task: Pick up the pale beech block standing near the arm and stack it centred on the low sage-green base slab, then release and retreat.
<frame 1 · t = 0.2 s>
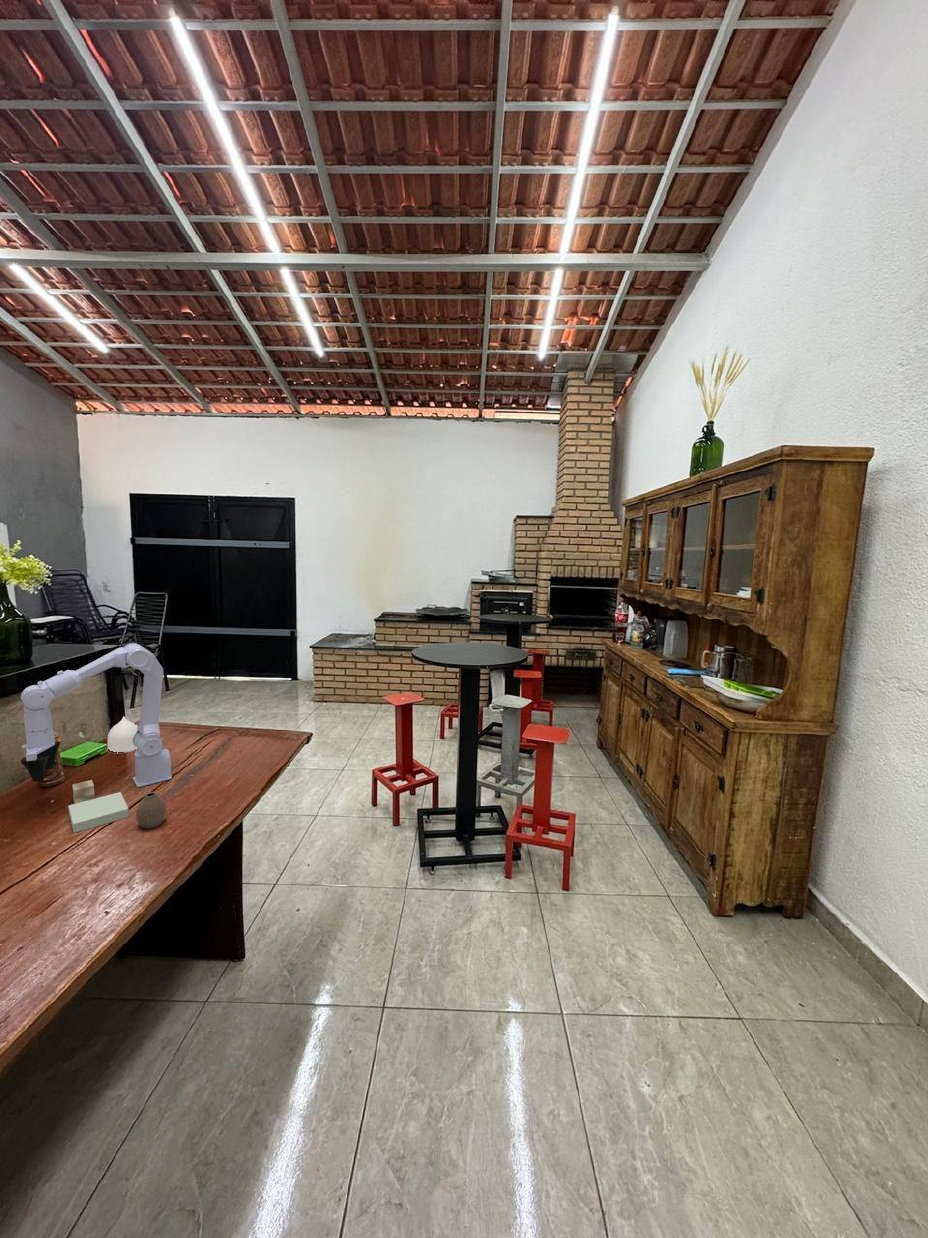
hand: (43, 774, 137), 10 cm above the table, fingers open, 7 cm apart
teardrop: (125, 747, 180), on the table
vase: (152, 825, 132), on the table
beech block: (84, 801, 143), on the table
base slab: (98, 815, 136), on the table
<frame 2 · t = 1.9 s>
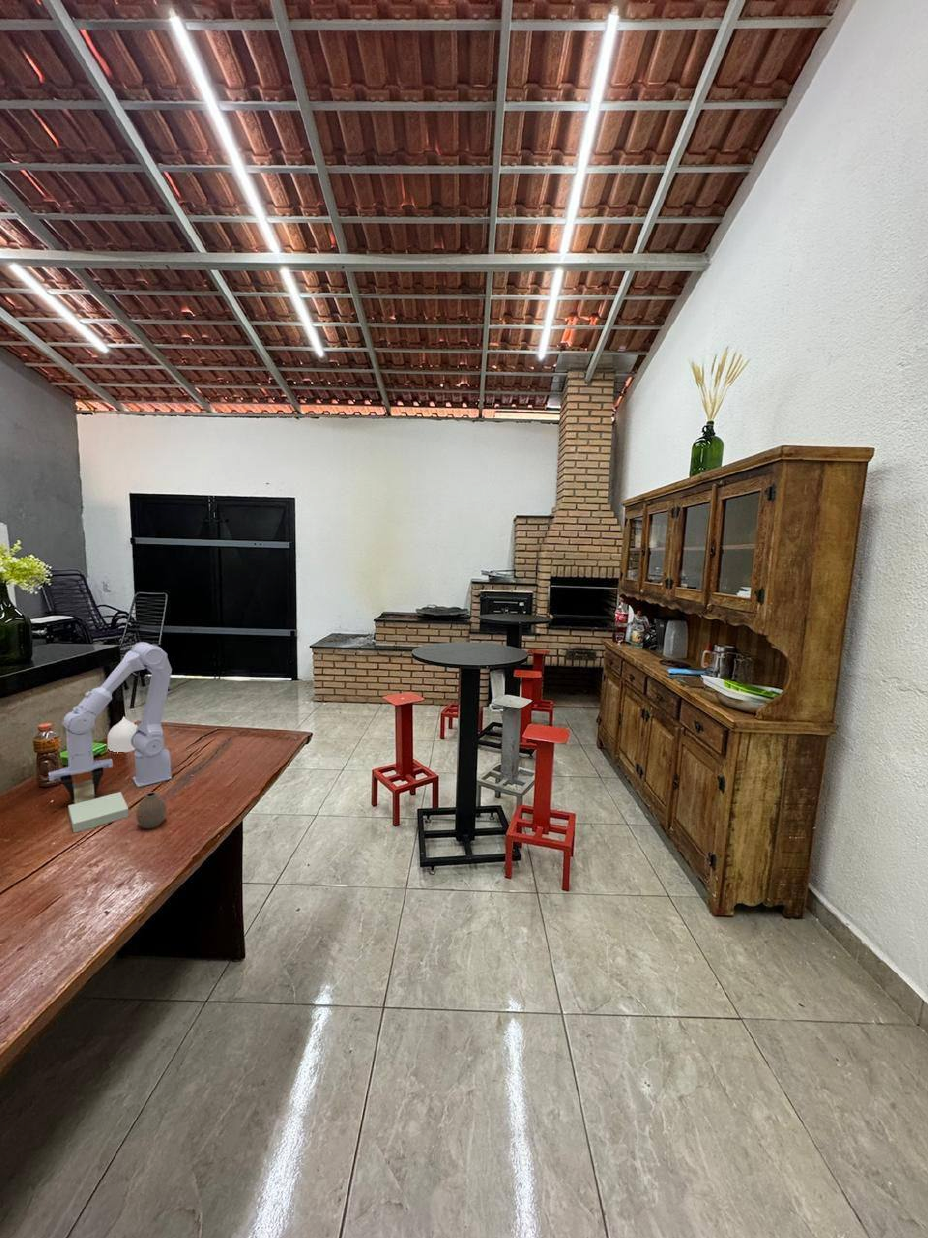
hand: (83, 796, 143), 1 cm above the table, fingers closed on beech block, 4 cm apart
beech block: (84, 800, 143), on the table, touching gripper
everything else where it was.
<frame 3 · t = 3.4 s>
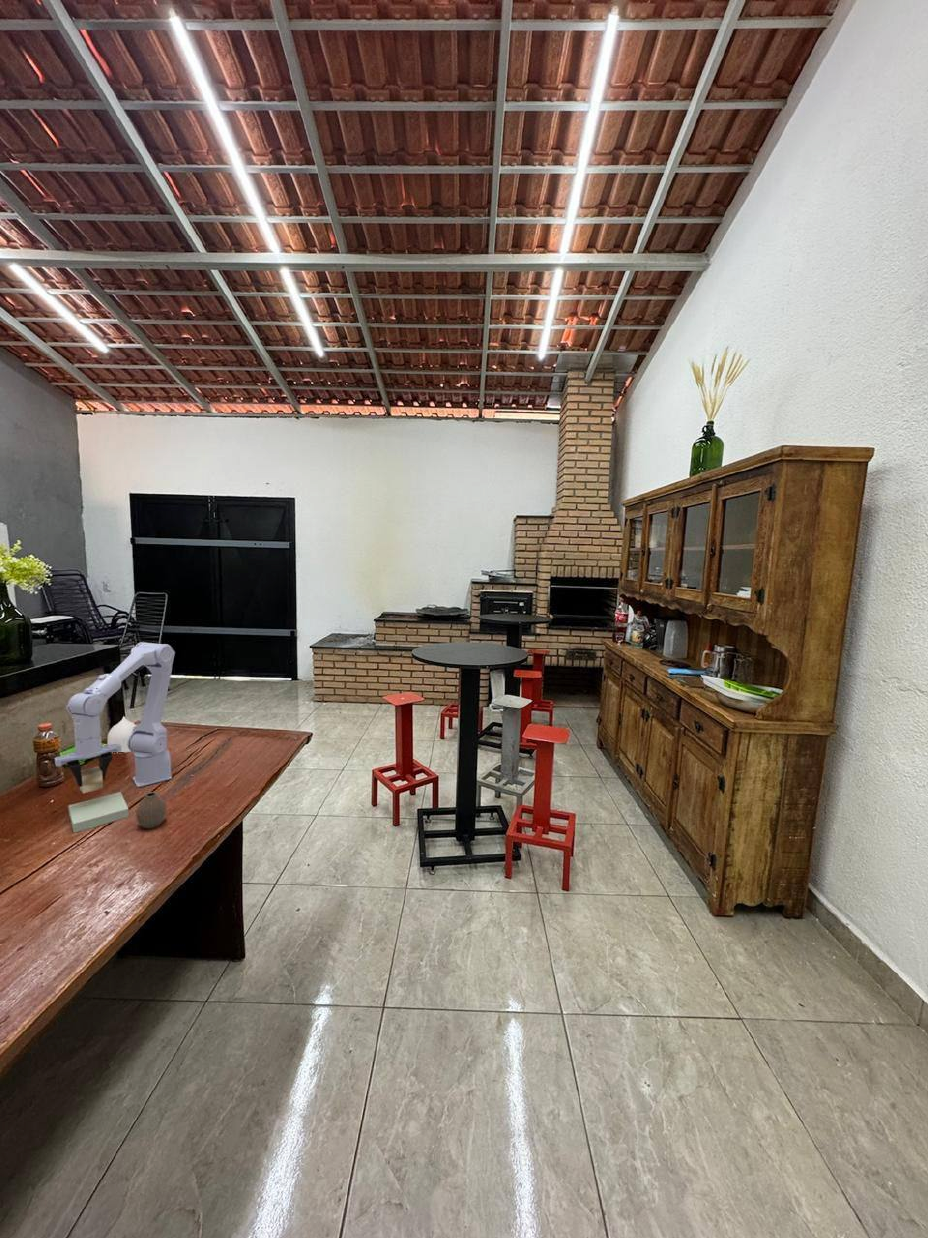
hand: (91, 782, 137), 8 cm above the table, fingers closed on beech block, 4 cm apart
beech block: (91, 788, 137), point 7 cm above the table, touching gripper
everything else where it was.
when the fingers open (5 cm above the table, at t = 4.7 s): beech block stays where it is, resting on base slab.
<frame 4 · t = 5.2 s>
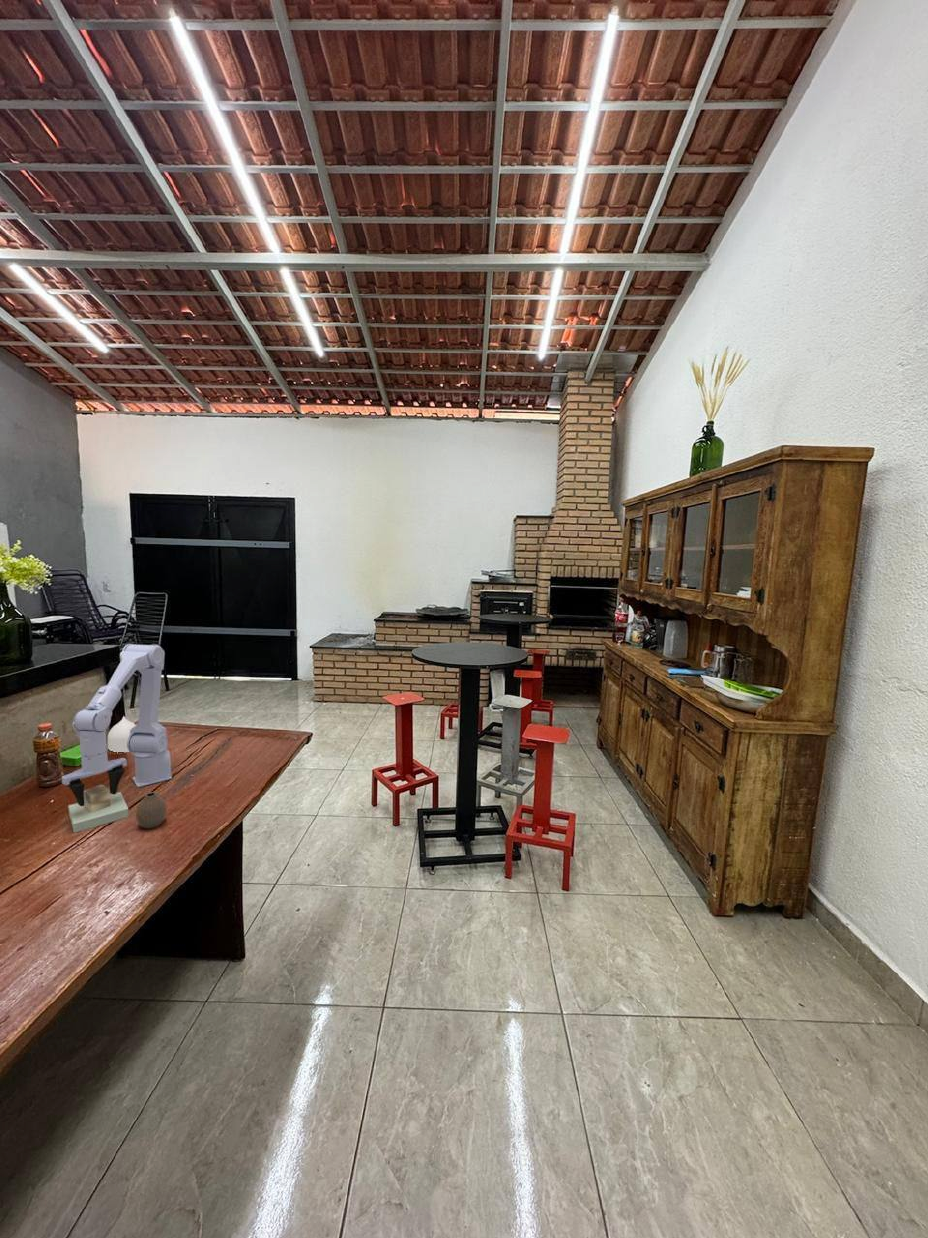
hand: (97, 799, 135), 5 cm above the table, fingers open, 7 cm apart
beech block: (97, 806, 135), point 2 cm above the table, touching base slab
everything else where it was.
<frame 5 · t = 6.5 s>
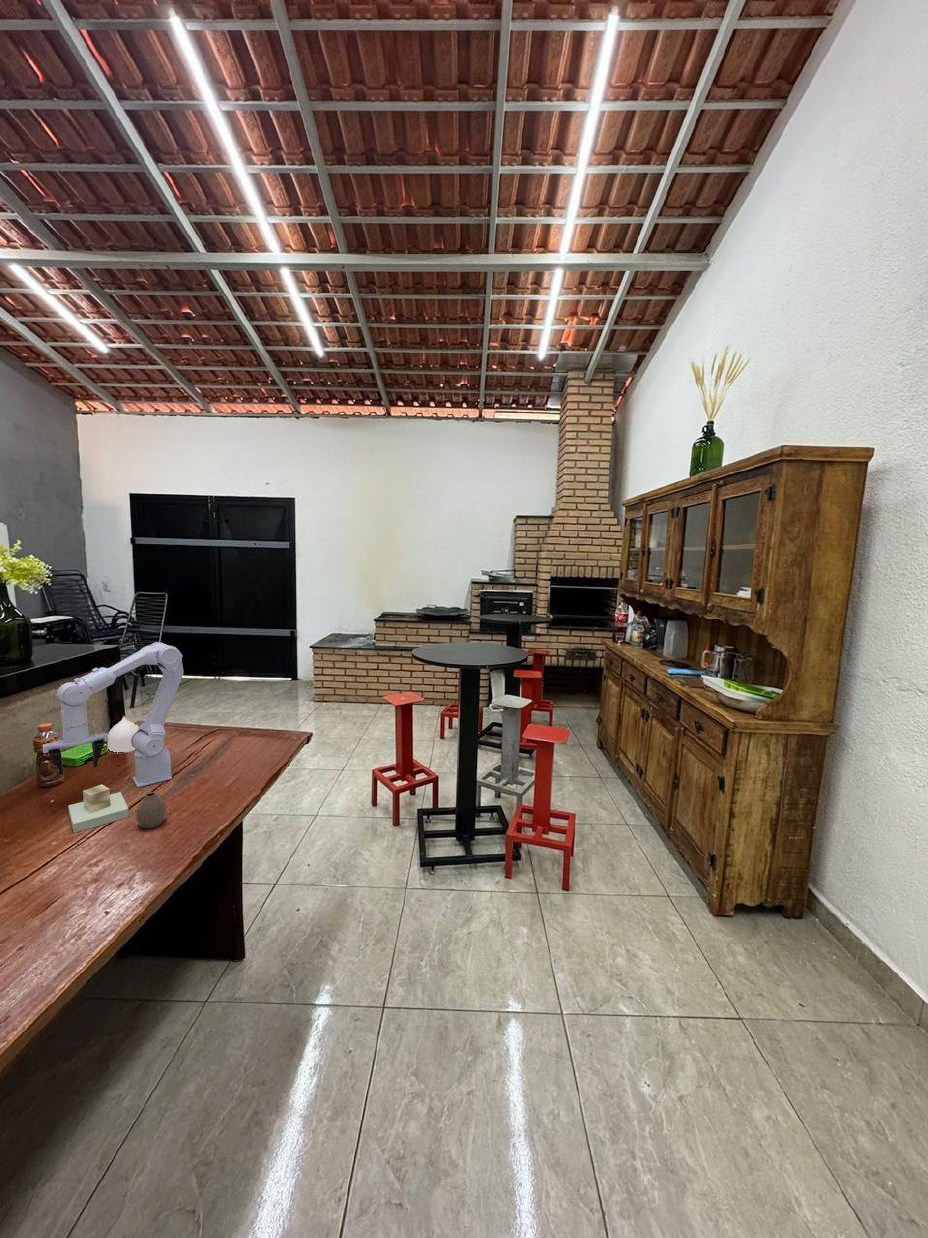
hand: (78, 769, 141), 10 cm above the table, fingers open, 7 cm apart
nothing on the table moved.
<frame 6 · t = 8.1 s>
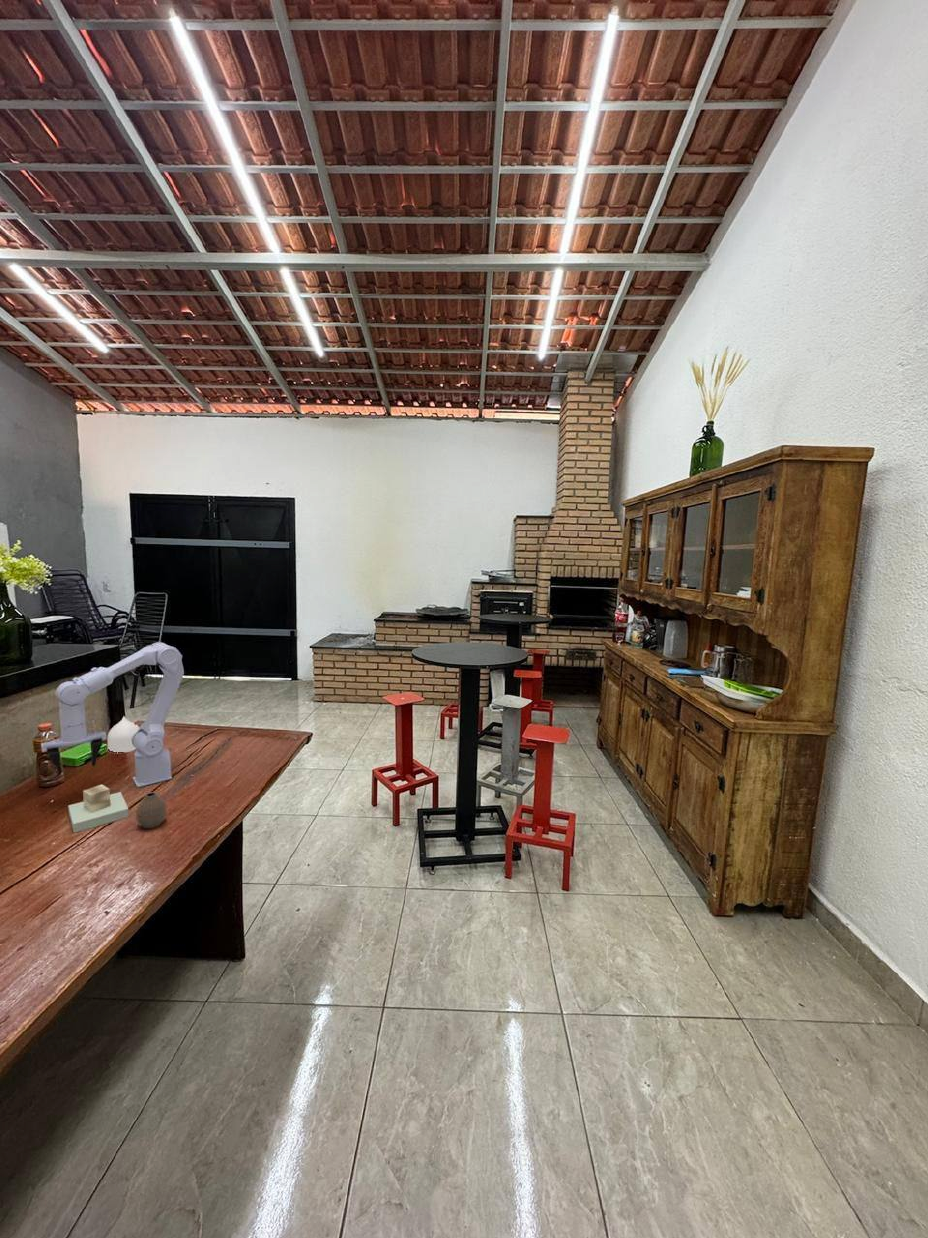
hand: (76, 768, 141), 10 cm above the table, fingers open, 7 cm apart
nothing on the table moved.
at the end: beech block inside the target area on the base slab (0.4 cm from its centre), point 2.5 cm above the base slab's base; beech block tilted 0°; the gripper is holding nothing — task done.
